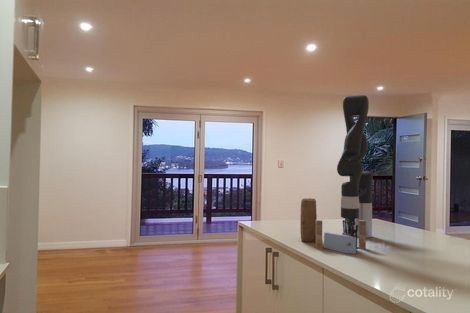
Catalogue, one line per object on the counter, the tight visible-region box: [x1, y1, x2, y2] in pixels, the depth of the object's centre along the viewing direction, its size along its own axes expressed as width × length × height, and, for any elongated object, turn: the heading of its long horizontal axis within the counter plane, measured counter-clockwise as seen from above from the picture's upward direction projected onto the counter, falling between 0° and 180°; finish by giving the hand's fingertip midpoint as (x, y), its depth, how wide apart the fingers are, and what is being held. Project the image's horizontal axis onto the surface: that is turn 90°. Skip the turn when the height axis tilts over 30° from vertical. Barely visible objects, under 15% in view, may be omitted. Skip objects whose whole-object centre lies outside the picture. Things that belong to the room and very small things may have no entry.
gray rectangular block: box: [341, 232, 359, 251], centre depth 165 cm, size 5×5×6 cm
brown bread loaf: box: [299, 198, 318, 243], centre depth 186 cm, size 11×8×20 cm
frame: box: [315, 219, 367, 250], centre depth 169 cm, size 2×21×12 cm, turn 91°
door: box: [323, 231, 357, 254], centre depth 162 cm, size 3×14×6 cm, turn 42°
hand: (349, 246), depth 165 cm, fingers closed on gray rectangular block, 5 cm apart
